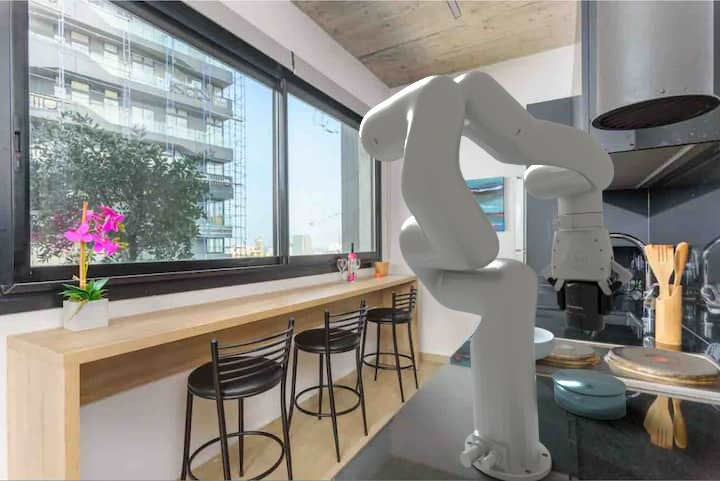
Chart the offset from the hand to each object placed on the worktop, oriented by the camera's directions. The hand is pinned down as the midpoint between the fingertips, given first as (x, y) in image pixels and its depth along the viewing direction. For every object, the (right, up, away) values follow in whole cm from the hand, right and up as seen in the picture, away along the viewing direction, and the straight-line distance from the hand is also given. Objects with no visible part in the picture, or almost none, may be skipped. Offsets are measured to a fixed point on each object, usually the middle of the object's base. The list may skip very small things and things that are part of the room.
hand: (584, 311), depth 70 cm
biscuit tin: (+1, -19, 0) cm, 19 cm away
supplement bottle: (0, -3, 0) cm, 3 cm away
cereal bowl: (0, -19, +28) cm, 34 cm away
